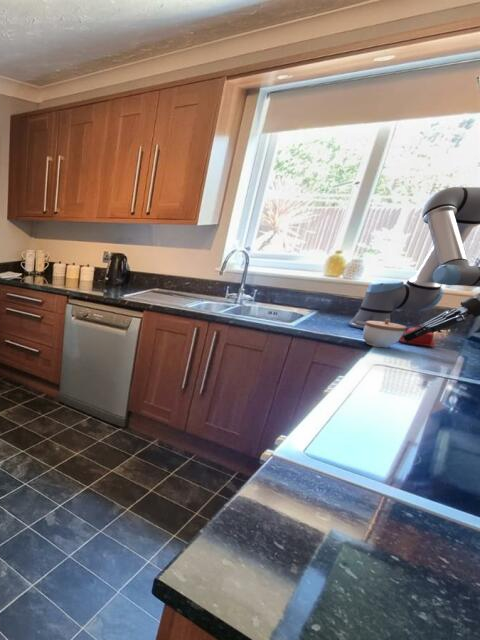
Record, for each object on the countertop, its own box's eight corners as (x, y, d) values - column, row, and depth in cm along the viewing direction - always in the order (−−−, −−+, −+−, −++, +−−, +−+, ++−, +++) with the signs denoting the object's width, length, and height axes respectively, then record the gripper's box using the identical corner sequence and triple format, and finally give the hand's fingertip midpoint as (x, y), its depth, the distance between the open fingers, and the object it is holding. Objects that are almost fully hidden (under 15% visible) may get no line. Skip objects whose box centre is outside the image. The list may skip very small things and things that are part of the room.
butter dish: (434, 349, 178) (444, 329, 175) (397, 343, 185) (405, 324, 182) (432, 344, 186) (441, 325, 182) (396, 338, 193) (404, 320, 190)
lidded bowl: (400, 351, 172) (412, 324, 168) (360, 345, 179) (370, 319, 175) (394, 344, 182) (405, 319, 178) (356, 339, 188) (365, 314, 184)
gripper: (496, 314, 156) (416, 349, 170) (478, 309, 167) (404, 342, 180) (482, 298, 156) (404, 334, 170) (466, 294, 167) (393, 328, 181)
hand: (404, 338), depth 175 cm, fingers closed
